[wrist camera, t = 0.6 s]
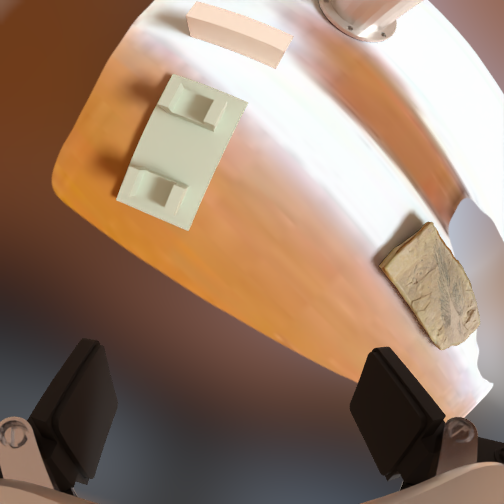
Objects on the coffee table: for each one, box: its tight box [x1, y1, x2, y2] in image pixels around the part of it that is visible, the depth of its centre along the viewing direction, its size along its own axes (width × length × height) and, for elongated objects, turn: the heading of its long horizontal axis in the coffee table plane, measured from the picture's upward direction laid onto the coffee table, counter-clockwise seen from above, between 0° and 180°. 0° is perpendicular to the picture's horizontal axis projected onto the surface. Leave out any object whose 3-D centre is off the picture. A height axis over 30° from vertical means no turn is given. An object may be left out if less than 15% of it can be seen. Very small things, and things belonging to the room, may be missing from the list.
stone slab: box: [379, 222, 480, 350], centre depth 41 cm, size 12×4×30 cm
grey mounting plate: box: [116, 74, 248, 231], centre depth 29 cm, size 17×10×6 cm, turn 155°
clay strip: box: [186, 2, 294, 69], centre depth 26 cm, size 12×2×6 cm, turn 65°
